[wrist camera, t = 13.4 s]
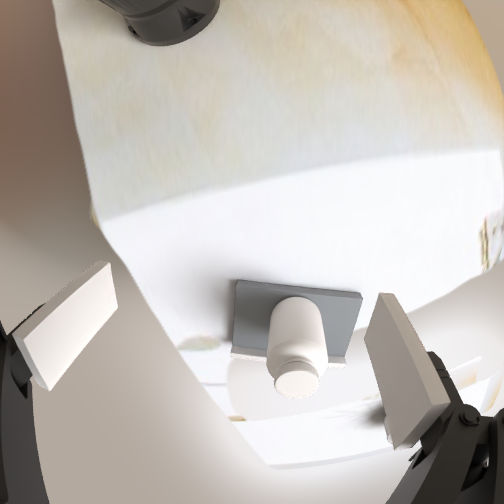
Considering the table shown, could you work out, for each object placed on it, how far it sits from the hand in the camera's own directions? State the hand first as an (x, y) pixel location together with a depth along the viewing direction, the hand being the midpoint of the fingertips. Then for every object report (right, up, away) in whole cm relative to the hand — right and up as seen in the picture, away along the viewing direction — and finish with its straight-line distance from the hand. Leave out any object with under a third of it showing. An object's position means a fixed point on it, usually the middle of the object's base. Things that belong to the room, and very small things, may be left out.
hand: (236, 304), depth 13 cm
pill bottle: (+8, -8, +31) cm, 33 cm away
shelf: (+8, -9, +33) cm, 36 cm away
